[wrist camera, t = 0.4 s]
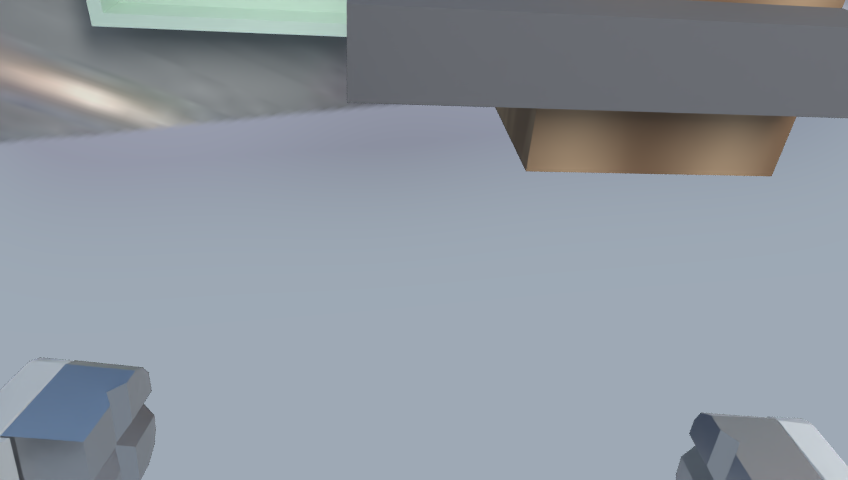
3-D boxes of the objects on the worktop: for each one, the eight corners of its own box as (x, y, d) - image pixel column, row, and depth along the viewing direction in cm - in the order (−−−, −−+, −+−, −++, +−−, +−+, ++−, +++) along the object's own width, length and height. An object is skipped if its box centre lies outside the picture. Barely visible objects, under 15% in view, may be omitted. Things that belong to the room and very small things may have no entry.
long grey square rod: (841, 7, 25) (902, 30, 22) (807, 88, 27) (859, 118, 24) (348, -18, 23) (346, 3, 20) (349, 72, 25) (347, 102, 22)
